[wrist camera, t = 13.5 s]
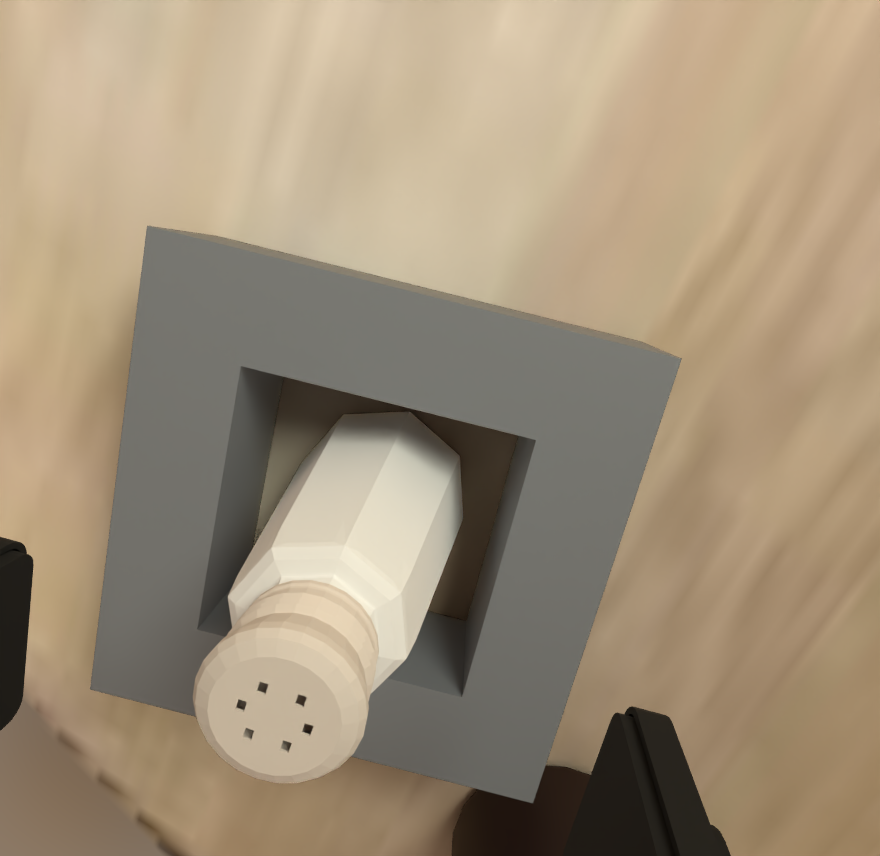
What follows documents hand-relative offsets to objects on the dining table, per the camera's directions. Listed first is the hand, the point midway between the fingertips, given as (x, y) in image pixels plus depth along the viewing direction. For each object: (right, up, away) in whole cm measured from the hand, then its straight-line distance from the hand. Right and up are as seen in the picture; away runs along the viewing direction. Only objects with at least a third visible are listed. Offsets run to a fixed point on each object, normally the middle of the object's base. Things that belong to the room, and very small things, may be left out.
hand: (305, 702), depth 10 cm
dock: (0, +2, +11) cm, 11 cm away
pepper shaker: (0, +2, +11) cm, 11 cm away
